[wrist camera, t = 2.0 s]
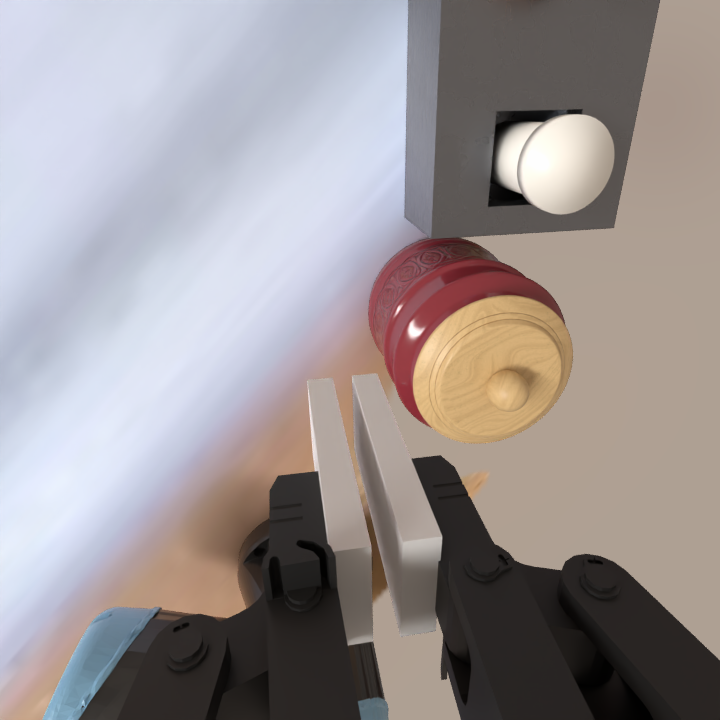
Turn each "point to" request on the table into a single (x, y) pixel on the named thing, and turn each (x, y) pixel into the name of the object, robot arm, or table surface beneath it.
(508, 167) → the white knob
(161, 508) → the table surface
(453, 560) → the robot arm
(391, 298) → the canister
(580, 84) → the block
